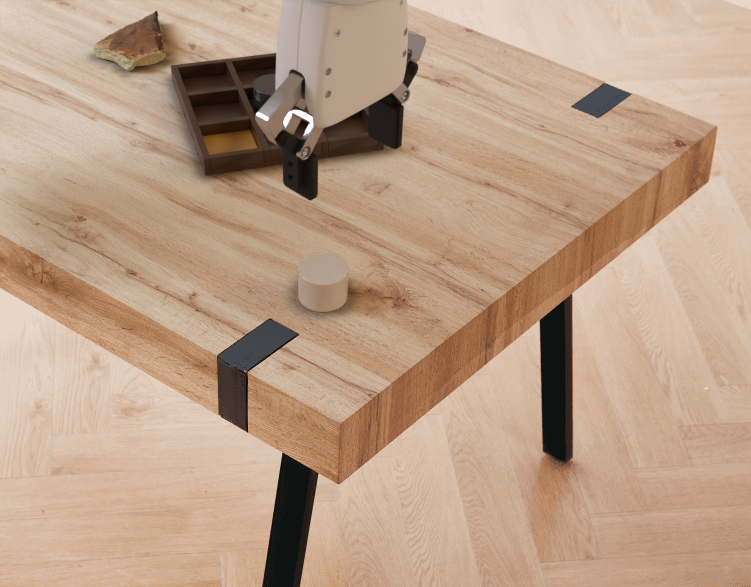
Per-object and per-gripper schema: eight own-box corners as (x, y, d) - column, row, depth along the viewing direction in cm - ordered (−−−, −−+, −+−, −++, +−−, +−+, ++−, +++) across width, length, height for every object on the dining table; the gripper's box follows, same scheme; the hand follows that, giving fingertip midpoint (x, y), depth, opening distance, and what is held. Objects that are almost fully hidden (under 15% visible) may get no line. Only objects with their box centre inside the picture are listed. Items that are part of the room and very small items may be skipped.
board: (205, 175, 108) (203, 159, 107) (171, 80, 122) (170, 65, 120) (383, 149, 113) (384, 133, 112) (333, 61, 127) (333, 45, 125)
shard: (157, 21, 132) (156, 8, 131) (204, 41, 129) (203, 27, 127) (92, 55, 125) (90, 41, 124) (140, 77, 122) (138, 63, 121)
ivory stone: (305, 316, 93) (305, 288, 91) (292, 284, 97) (292, 256, 94) (353, 307, 95) (355, 279, 92) (339, 275, 98) (340, 248, 96)
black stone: (259, 123, 115) (258, 97, 113) (249, 102, 118) (248, 76, 116) (298, 118, 116) (298, 92, 114) (288, 97, 119) (288, 71, 117)
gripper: (390, -90, 81) (380, 107, 92) (216, -19, 71) (230, 192, 82) (468, -59, 77) (448, 142, 89) (297, 20, 67) (300, 235, 79)
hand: (343, 166), depth 85 cm, fingers open, 9 cm apart
